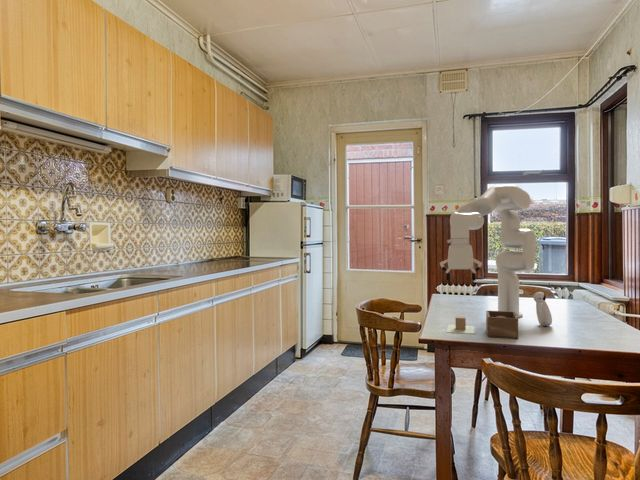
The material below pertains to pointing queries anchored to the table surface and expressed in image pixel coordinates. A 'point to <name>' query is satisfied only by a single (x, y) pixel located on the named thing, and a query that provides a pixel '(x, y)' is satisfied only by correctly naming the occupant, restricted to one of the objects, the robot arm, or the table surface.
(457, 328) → the lid
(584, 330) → the table surface
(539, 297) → the toy
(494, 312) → the box
